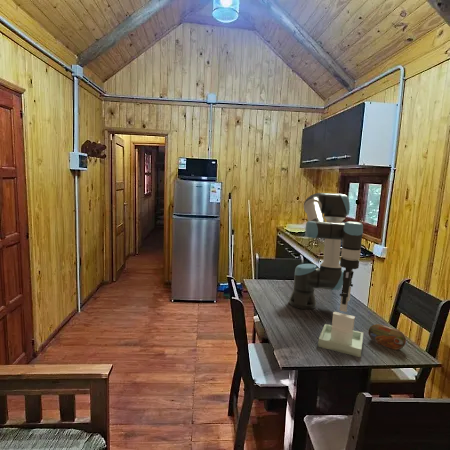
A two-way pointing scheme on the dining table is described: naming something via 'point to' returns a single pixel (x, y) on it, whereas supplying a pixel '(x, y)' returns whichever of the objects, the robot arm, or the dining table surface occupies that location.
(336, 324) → the base with upright slab
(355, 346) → the bin
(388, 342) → the tin
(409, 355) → the dining table surface
